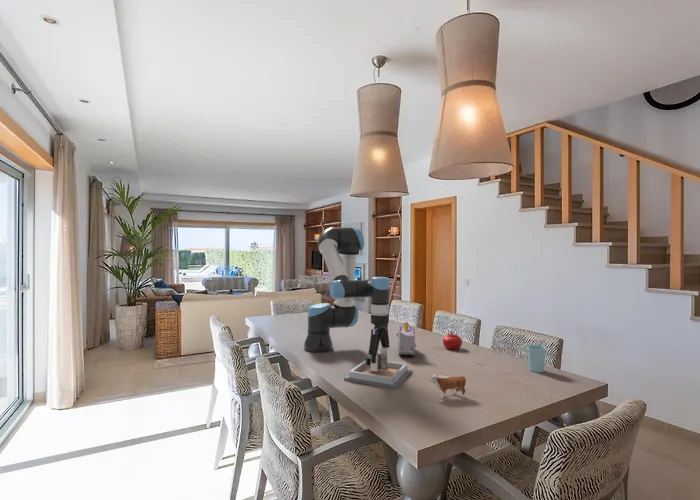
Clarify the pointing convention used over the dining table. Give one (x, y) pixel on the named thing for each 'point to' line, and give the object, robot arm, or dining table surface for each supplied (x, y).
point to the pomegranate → (452, 341)
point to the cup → (536, 358)
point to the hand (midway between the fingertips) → (379, 366)
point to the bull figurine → (449, 384)
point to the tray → (380, 375)
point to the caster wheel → (380, 361)
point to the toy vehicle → (406, 340)
